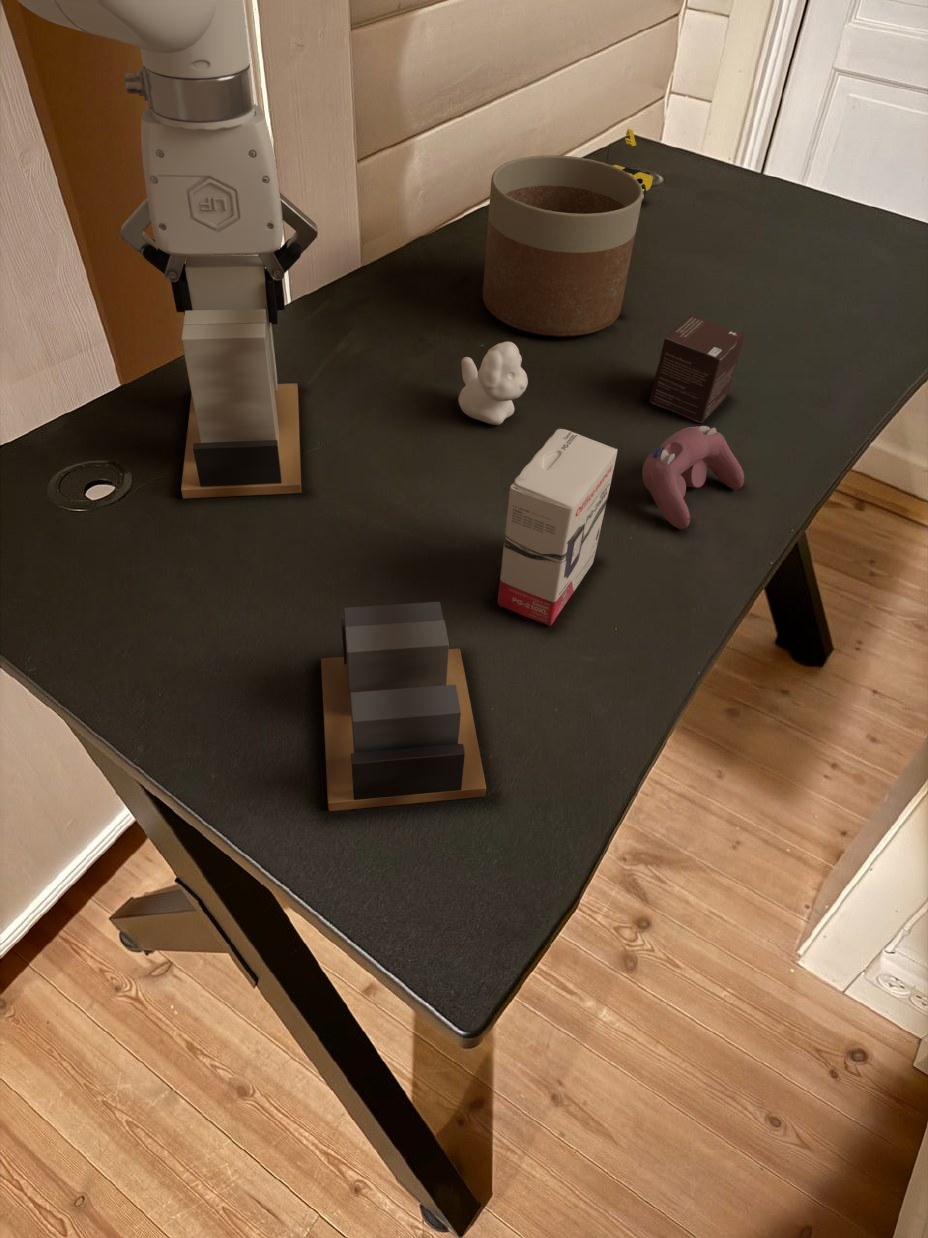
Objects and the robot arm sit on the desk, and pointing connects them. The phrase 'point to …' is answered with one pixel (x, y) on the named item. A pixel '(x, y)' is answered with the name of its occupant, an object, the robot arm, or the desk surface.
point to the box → (696, 368)
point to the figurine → (493, 384)
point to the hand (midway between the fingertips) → (232, 315)
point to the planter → (559, 244)
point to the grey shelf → (398, 712)
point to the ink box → (554, 524)
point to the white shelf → (237, 409)
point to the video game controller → (688, 469)
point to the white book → (229, 287)
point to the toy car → (642, 178)
